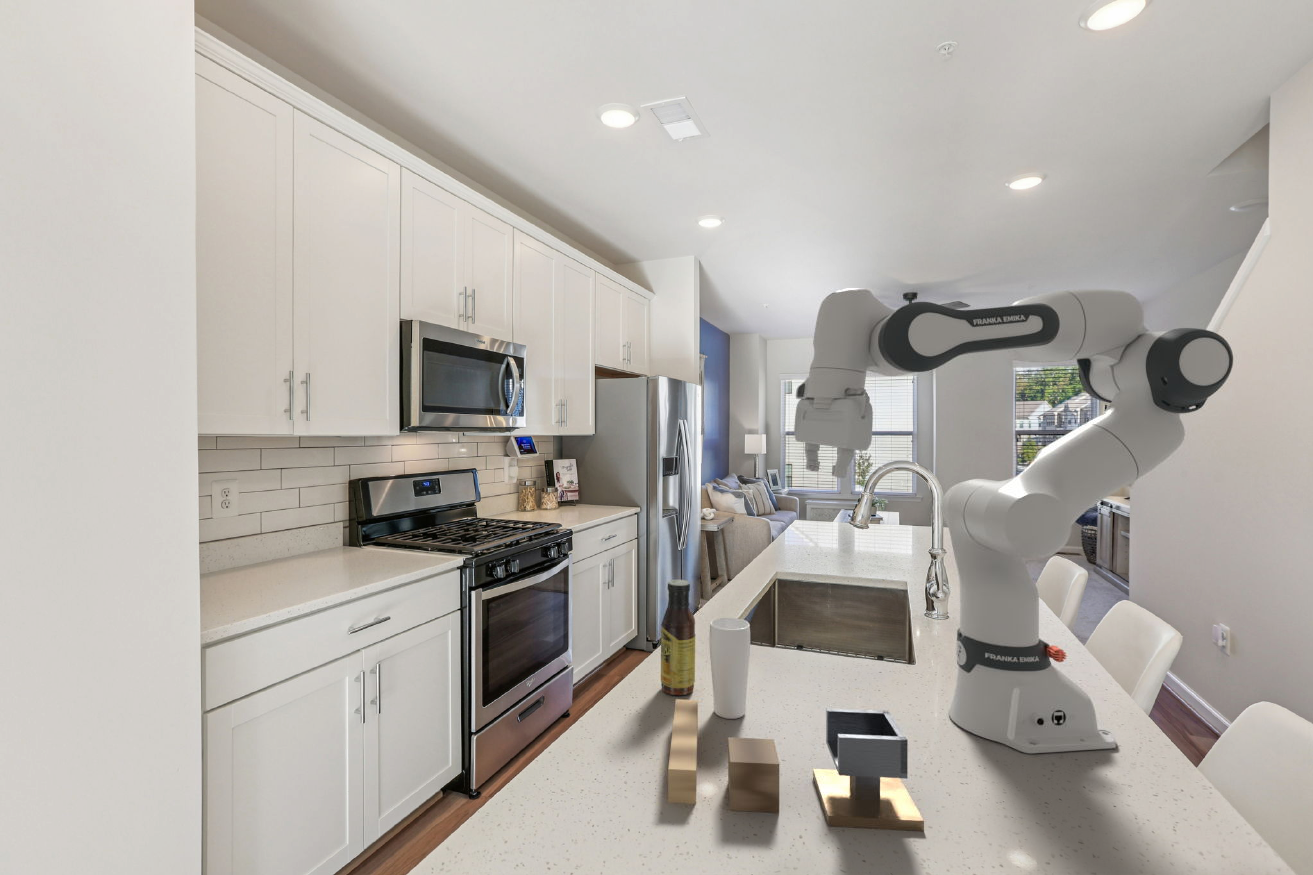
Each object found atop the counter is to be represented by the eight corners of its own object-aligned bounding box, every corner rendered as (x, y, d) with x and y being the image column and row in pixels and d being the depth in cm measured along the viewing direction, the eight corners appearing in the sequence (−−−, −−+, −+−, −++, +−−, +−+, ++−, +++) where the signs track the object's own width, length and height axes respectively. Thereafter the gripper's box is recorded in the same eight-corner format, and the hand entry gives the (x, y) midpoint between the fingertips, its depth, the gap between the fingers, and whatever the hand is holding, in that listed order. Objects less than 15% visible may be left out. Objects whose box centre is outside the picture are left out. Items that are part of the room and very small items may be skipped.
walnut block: (773, 784, 79) (773, 739, 79) (779, 812, 73) (779, 764, 73) (728, 781, 80) (728, 737, 79) (730, 810, 74) (730, 761, 74)
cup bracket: (896, 781, 80) (896, 707, 80) (924, 830, 70) (924, 745, 70) (813, 777, 81) (813, 703, 81) (828, 825, 71) (828, 741, 71)
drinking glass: (749, 724, 95) (749, 631, 95) (707, 720, 97) (707, 628, 97) (751, 705, 102) (751, 618, 102) (711, 702, 103) (711, 615, 103)
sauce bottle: (659, 683, 111) (659, 577, 111) (692, 682, 112) (692, 576, 112) (662, 699, 105) (662, 586, 104) (697, 697, 105) (697, 585, 105)
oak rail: (675, 727, 95) (675, 699, 95) (697, 728, 95) (697, 700, 95) (668, 804, 75) (668, 768, 75) (695, 805, 75) (696, 770, 75)
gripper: (889, 390, 87) (877, 484, 87) (824, 393, 107) (815, 469, 107) (849, 384, 86) (837, 479, 86) (792, 389, 106) (782, 466, 106)
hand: (824, 474), depth 97 cm, fingers open, 8 cm apart
